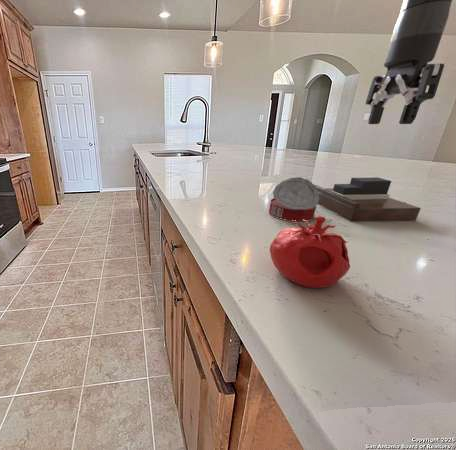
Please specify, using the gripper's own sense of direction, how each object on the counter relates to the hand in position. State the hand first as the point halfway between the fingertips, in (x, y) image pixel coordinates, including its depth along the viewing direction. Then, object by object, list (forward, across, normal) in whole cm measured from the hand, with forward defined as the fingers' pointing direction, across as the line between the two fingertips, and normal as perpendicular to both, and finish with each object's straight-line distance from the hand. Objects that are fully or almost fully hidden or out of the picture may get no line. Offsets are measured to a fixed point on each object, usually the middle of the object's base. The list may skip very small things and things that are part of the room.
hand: (388, 124), depth 55 cm
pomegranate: (+20, -30, +30) cm, 47 cm away
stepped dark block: (+17, 0, +2) cm, 17 cm away
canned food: (+20, -4, +20) cm, 29 cm away
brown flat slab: (+20, 0, +2) cm, 20 cm away
